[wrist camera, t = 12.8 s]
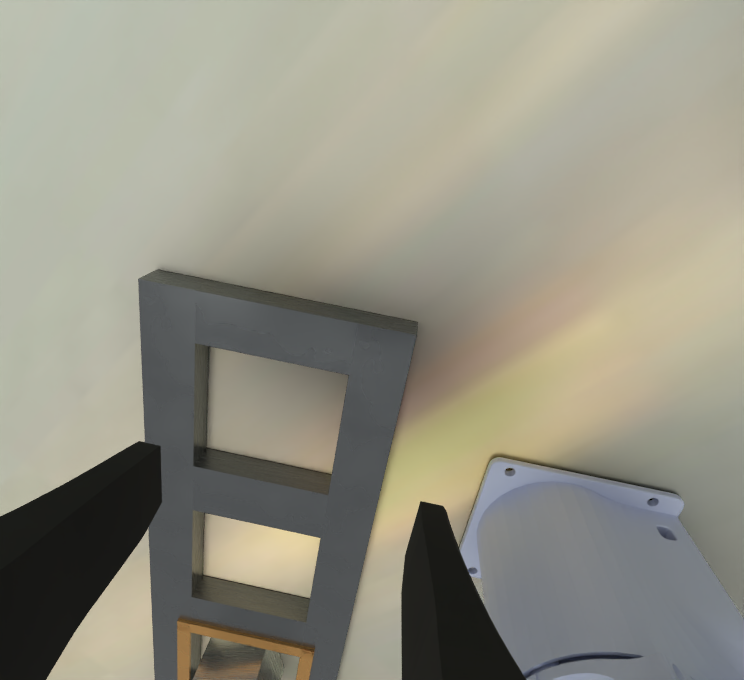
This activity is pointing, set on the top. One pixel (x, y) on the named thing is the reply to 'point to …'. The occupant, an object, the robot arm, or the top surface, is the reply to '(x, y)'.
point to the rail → (261, 466)
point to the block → (238, 662)
